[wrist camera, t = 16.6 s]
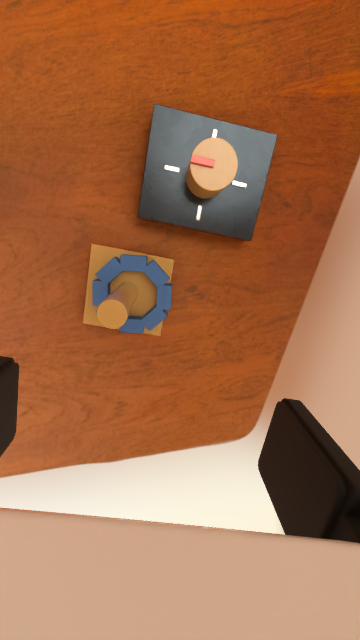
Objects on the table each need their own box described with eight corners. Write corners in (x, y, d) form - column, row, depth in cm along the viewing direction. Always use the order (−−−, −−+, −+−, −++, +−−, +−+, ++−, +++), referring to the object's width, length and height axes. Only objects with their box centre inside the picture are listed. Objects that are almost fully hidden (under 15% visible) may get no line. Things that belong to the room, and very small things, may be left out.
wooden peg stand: (174, 259, 32) (179, 268, 21) (160, 333, 34) (158, 375, 24) (94, 243, 31) (57, 244, 20) (85, 320, 33) (48, 358, 23)
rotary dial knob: (230, 159, 27) (244, 142, 23) (221, 202, 28) (232, 194, 24) (190, 149, 27) (195, 130, 22) (182, 193, 28) (185, 184, 23)
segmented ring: (173, 257, 31) (174, 258, 29) (168, 330, 33) (169, 335, 31) (95, 252, 30) (91, 252, 29) (95, 326, 32) (92, 331, 31)
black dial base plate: (268, 143, 29) (278, 134, 27) (244, 240, 32) (251, 240, 29) (154, 115, 28) (154, 102, 26) (139, 219, 31) (137, 216, 28)
